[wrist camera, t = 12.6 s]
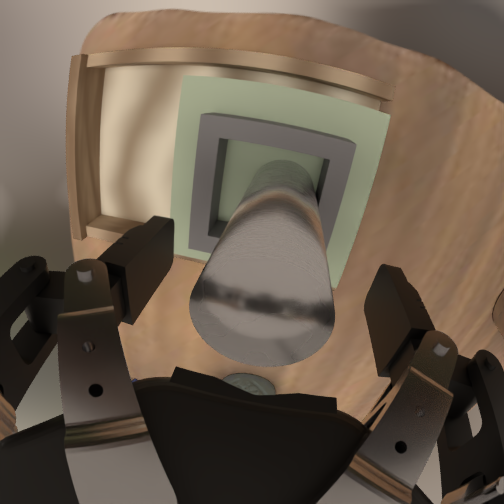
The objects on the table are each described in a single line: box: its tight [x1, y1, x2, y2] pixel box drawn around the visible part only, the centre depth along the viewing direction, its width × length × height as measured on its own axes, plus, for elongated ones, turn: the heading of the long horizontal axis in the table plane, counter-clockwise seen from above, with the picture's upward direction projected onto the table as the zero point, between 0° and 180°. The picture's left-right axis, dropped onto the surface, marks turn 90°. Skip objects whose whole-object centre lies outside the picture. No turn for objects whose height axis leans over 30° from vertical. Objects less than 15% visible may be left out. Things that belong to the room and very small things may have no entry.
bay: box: [66, 47, 395, 291], centre depth 22 cm, size 26×18×5 cm
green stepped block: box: [170, 75, 391, 288], centre depth 20 cm, size 13×13×8 cm
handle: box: [189, 160, 335, 367], centre depth 13 cm, size 4×4×12 cm
